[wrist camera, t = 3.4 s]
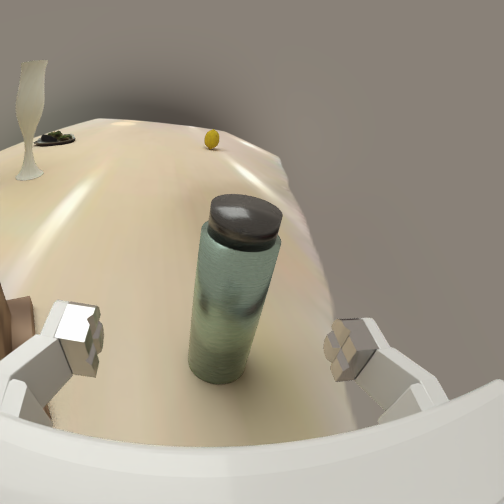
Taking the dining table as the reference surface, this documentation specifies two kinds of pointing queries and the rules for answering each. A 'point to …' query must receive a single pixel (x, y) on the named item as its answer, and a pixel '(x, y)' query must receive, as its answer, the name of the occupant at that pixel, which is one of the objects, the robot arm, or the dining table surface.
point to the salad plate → (55, 139)
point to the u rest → (16, 325)
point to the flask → (231, 284)
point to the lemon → (212, 139)
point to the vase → (30, 112)
